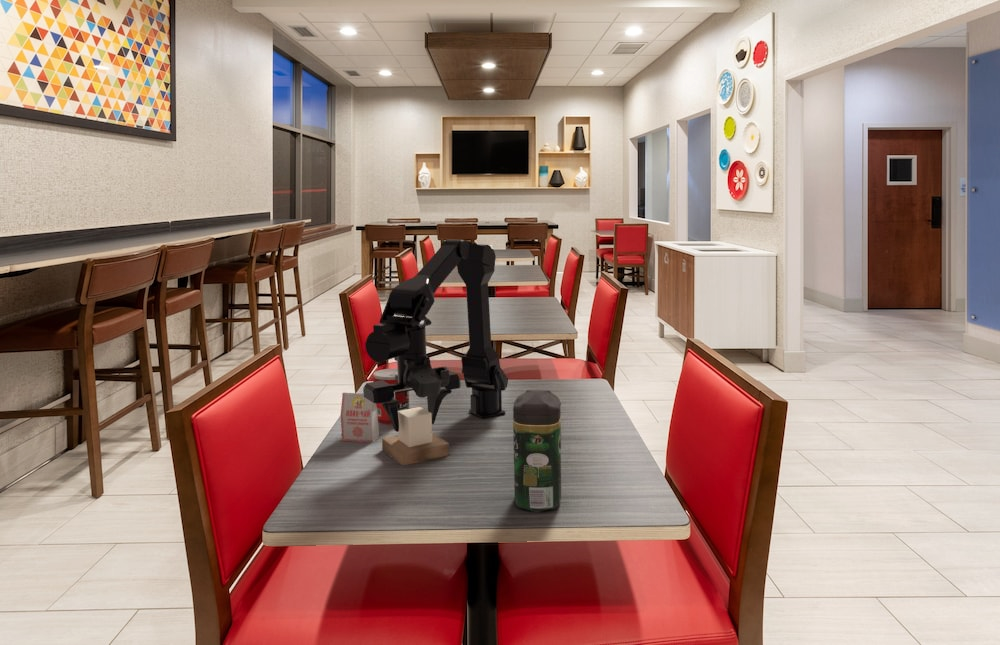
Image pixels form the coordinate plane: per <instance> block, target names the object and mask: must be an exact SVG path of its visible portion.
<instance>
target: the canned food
mask: <svg viewBox="0 0 1000 645" xmlns="http://www.w3.org/2000/svg"><path fill="white" fill-rule="evenodd" d="M372 374H373V376H372V380H373V381H372V382H376V381H382V380H383V381H384V382H386V383H388V384H396V383H398V381H396V380H395V375H398V368H385V369H380V370H376V371H374V372H373V373H372ZM404 387H405V386H404ZM395 399H396V400H398V401H399V404H398V407H397V409H398V411H401V410H406V409H410V391H407V392H401V393H396V394H395ZM376 406H377V411H378V423H380V424H385V425H392V423H391V421H390V419H389V417H388V415H387V413H386V411H385V409H384V407H383V406H382V404H381V403H376Z"/></svg>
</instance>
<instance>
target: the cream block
mask: <svg viewBox="0 0 1000 645" xmlns="http://www.w3.org/2000/svg"><path fill="white" fill-rule="evenodd" d="M398 419H399V431H398V432H397V435H398V440H400V441H401V442H402V443H404V444H405V445H407V446H408V447H413V446H417V445H422V444H426V443H431V442H432V433H433V426H432V425H433V424H432V413H430V412H428V409H427V410H426V409H425V408H423V407H421V406H417V407H413V408H409V409H406V410H401V411H398Z"/></svg>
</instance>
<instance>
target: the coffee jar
mask: <svg viewBox="0 0 1000 645" xmlns="http://www.w3.org/2000/svg"><path fill="white" fill-rule="evenodd" d="M561 406H562V402H561V400H560V398H559V397H558V396H557V395H556V394H555V393H553V392H552V391H551V390H548V389H547V390H546V389H545V390H543V389H527V390H526V391H525V392H523V393H522V394H520V395H518V396H517V397H516V399H515V400H514V402H513V407H512V408H513V409H512V412H513V413H512V414H513V415H512V416H513V417H512V421H513V422H512V423H513V424H512V425H513V426H512V430H513V432H512V436H513V438H512V439H513V442H512V444H513V471H514V472H513V477H514V478H513V479H514V483H513V484H514V502H515V505H516V506H517V507H518V508H519V509H524V510H527V511H530V512H544V511H549V510H554V509H557V508H558V506H559V505H560V503H561V500H562V420H561V419H562V411H561Z"/></svg>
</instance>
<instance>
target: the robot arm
mask: <svg viewBox="0 0 1000 645" xmlns="http://www.w3.org/2000/svg"><path fill="white" fill-rule="evenodd" d="M496 259H497V258H496V253H495V250H494V249H493V248H492V247H491V245H489V244H480V243H479V244H475V243H471V242H468V241H465V240H464V239H446V240H443V241H442V242H441V244H440V247H439V249H438V250H437V251H436V252H435V253H434V254H433V255H432V257H430V259H429V260H428V261H427V262H426V264H424V266H422V268H421V269H420V270H419V271H418V273H416V275H414V276H413V277H410V278H407V279H406V280H405V279H404V280H403V281H402V282H400V283H399V284H397V285H396V286H394V287H393V288H392V289H391V291H390V293H389V295H388V299H387V301H386V304H385V307H384V309H383V311H382V314H381V316H380V319H379V324H378V323H377V324H373V325H372V329H373V330H372V332H370V333H369V334H368V335H367V338H366V341H365V342H364V346H365V351H366V353H367V355H368V357H369V358H370V359H371V360H372V361H374V362H376V363H382V362H385V361H389V360H392V359H394V361H395V362H396V364H397V365H396V366H397V367H396V369H398V375H395V380H396V381H398V383H396V384H388V383H386V382H384V381H383V380H382V381H376V382H373V381H372V382H366V383H365V385H363V390H362V391H363V392H362V393H363V394H364V397H365V398H366V399H368V400H370V401H371V402H373V403H381V404H382V406H383V407H384V409H385V411H386V413H387V415H388V417H389V419H390V421H391V423H392V424H391V425H392V427H393V429H394V431H395V432H396V433H398V431H399V419H398V409H397V407H398V404H399V401H398V400H396V399H395V394H396V393H401V392H407V391H409V392H414V393H415V395H416V396H417V397H419V398H426V400H427V411H428V412H430V413H432V425H434V424H435V422H436V419H437V416H438V412H439V409H440V406H441V403H442V402H443V400H444V398H445V397H447V395H449V394H451V393H452V392H453V390H457V389H458V390H459V389H460V388H461V386H462V385H461V384H462V383H461V381H462V380H461V377H460V376H459V374H458V373H456V372H453V371H450V369H449V368H448V367H447V366H441V367H434V368H432V365H431V360H430V356H427V337H426V336H427V334H426V331H427V330H426V327H427V326H431V325H432V321H431V320H430V318H428V317H427V315H428V313H429V312H430V311H431V308H432V306H433V305H434V304H435V293H436V292H437V290H438V289H439V287H440V286H441V285H442V284H443V283H444V282H445V280H446V279H447V278H448V277H449V275H450V274H451V273H452V272H453V271H454V269H455V268H456V267H457V268H456V269H457V273H458V276H459V277H460V278H461V280H462V282H463V283H464V284H465V290H466V291H465V292H466V293H465V294H466V295H465V296H466V308H467V309H466V310H467V324H468V325H467V326H468V343H469V347H468V350H467V351H466V353H465V354H464V355H462V356H461V367H462V368H461V374H462V375H463V380H464V383H465V387H466V388H468V389H469V388H470V389H471V394H470V409H468V412H469V413H470V414H472V415H475V416H477V417H479V418H481V419H485V418H490V417H495V416H496V417H497V416H500V415H505V414H506V411H505V410H503V405H502V404H503V403H502V402H503V401H502V398H503V397H502V392H503V391H506V389H507V388H508V384H509V377H508V376H507V374H505V371H504V370H503V369H502V367H501V363H500V357H499V355H498V353H497V352H496V350H495V349H494V347H493V346H492V334H491V333H492V332H491V318H490V317H491V316H490V313H491V312H490V296H489V282H490V280H491V278H492V276H493V275H494V272H495V270H496V269H495V267H496V266H495V265H496V264H495V263H496ZM404 386H405V387H404Z"/></svg>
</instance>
